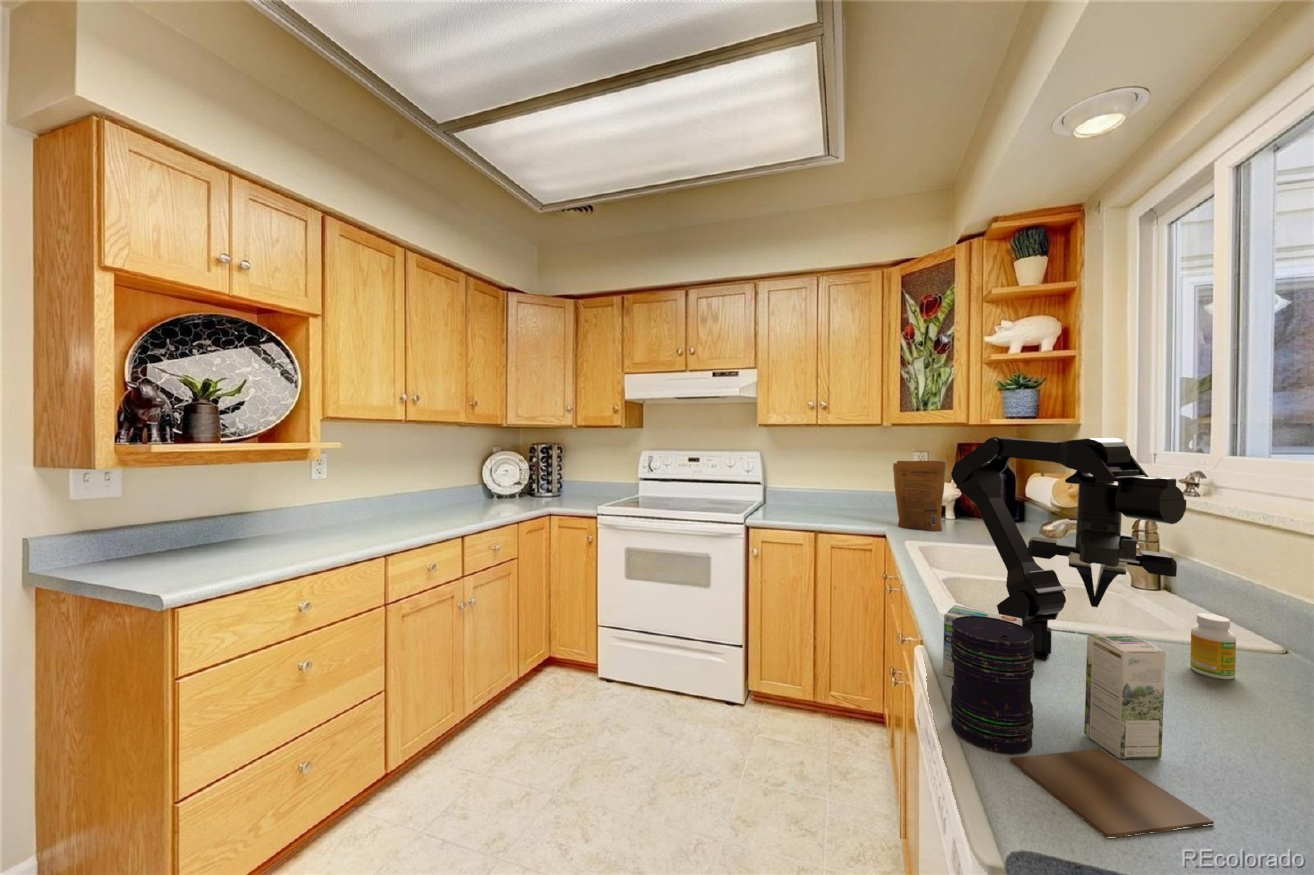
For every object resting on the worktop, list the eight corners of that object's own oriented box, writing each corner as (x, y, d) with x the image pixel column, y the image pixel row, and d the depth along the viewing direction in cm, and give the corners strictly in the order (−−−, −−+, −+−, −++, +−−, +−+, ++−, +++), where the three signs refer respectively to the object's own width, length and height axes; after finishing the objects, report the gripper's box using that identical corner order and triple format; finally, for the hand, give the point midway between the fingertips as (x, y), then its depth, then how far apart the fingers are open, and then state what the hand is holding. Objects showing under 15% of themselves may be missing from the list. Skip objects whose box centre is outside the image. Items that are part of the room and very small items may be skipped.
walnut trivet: (1107, 839, 56) (1107, 834, 56) (1010, 761, 69) (1010, 757, 69) (1213, 825, 58) (1213, 821, 58) (1099, 752, 71) (1099, 748, 71)
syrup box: (1123, 734, 75) (1124, 631, 74) (1164, 760, 69) (1166, 649, 69) (1083, 735, 75) (1084, 632, 74) (1121, 762, 69) (1123, 650, 68)
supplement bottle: (1225, 682, 89) (1227, 625, 89) (1183, 669, 94) (1184, 614, 94) (1241, 676, 91) (1242, 620, 91) (1199, 663, 96) (1200, 609, 96)
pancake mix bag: (944, 533, 208) (945, 461, 208) (892, 528, 219) (892, 459, 219) (947, 530, 214) (947, 460, 213) (895, 525, 225) (895, 458, 224)
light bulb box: (941, 675, 93) (942, 613, 92) (952, 662, 98) (952, 603, 97) (1015, 696, 85) (1015, 629, 85) (1022, 681, 90) (1023, 617, 90)
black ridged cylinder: (937, 714, 80) (938, 615, 80) (1004, 714, 80) (1005, 615, 80) (974, 755, 70) (975, 642, 70) (1051, 756, 70) (1052, 643, 70)
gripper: (1028, 511, 89) (1023, 605, 89) (1185, 527, 77) (1179, 634, 77) (1031, 505, 97) (1027, 590, 98) (1173, 518, 86) (1168, 615, 86)
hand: (1094, 606), depth 89 cm, fingers closed
